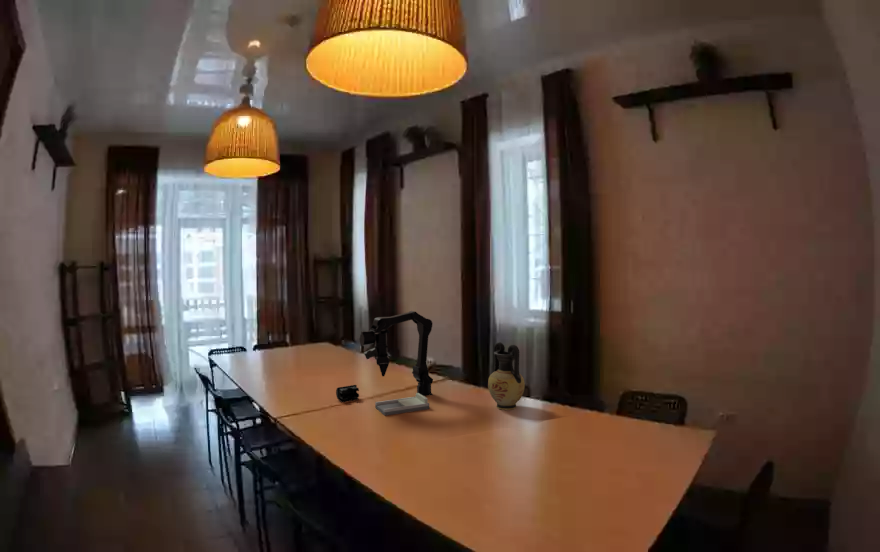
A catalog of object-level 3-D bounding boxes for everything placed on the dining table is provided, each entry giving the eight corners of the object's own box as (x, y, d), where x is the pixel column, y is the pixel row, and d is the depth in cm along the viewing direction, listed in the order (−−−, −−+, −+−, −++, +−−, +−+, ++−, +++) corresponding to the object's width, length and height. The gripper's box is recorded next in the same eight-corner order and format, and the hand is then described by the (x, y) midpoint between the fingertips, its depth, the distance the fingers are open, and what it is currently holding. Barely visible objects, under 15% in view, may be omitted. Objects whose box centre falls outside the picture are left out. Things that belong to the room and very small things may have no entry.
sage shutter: (418, 398, 250) (418, 392, 250) (427, 404, 240) (427, 398, 240) (397, 401, 246) (397, 395, 246) (405, 407, 235) (405, 401, 235)
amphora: (532, 406, 239) (531, 343, 238) (511, 415, 227) (510, 348, 226) (502, 400, 251) (500, 339, 250) (480, 407, 239) (479, 344, 238)
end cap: (354, 396, 264) (354, 383, 264) (359, 399, 258) (359, 386, 258) (336, 399, 259) (335, 386, 258) (341, 402, 253) (340, 389, 252)
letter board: (418, 401, 252) (418, 396, 251) (429, 408, 239) (429, 403, 239) (375, 407, 242) (375, 402, 242) (384, 415, 230) (384, 409, 230)
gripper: (363, 341, 259) (365, 371, 260) (365, 347, 241) (366, 380, 241) (385, 339, 261) (387, 369, 262) (389, 345, 243) (390, 378, 243)
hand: (382, 374), depth 252 cm, fingers open, 9 cm apart
